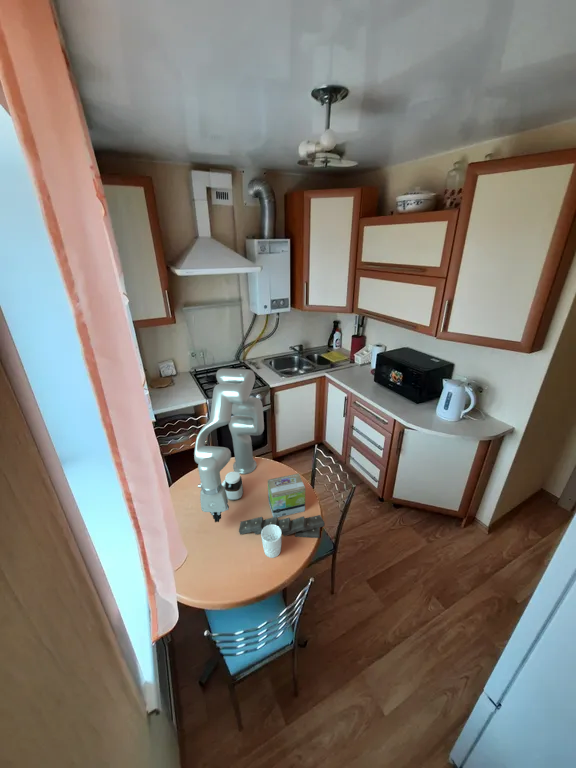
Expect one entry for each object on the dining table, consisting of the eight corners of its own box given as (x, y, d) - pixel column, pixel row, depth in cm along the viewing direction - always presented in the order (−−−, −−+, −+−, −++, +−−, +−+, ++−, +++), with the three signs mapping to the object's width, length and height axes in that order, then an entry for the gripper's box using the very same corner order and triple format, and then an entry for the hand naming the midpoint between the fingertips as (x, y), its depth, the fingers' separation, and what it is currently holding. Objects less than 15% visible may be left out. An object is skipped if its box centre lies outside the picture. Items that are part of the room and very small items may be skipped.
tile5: (295, 524, 134) (319, 525, 133) (295, 527, 135) (319, 528, 134) (295, 534, 129) (319, 535, 129) (295, 537, 130) (319, 538, 129)
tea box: (273, 519, 138) (271, 495, 131) (268, 502, 147) (266, 478, 140) (305, 511, 141) (305, 487, 135) (299, 495, 150) (298, 471, 144)
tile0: (240, 521, 135) (261, 516, 134) (242, 524, 136) (263, 519, 134) (238, 531, 131) (260, 526, 129) (240, 534, 132) (262, 529, 130)
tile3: (282, 523, 134) (303, 515, 132) (284, 526, 135) (305, 518, 133) (281, 533, 130) (303, 525, 127) (284, 536, 130) (305, 528, 128)
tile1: (255, 521, 135) (276, 516, 133) (257, 524, 136) (278, 519, 134) (253, 531, 130) (275, 526, 128) (255, 534, 131) (277, 529, 129)
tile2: (267, 522, 134) (288, 516, 132) (269, 525, 135) (290, 520, 133) (266, 532, 130) (288, 527, 128) (268, 535, 131) (290, 530, 129)
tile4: (298, 519, 134) (320, 514, 137) (298, 523, 135) (320, 518, 137) (302, 527, 129) (324, 522, 132) (302, 531, 130) (324, 526, 133)
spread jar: (241, 502, 147) (239, 484, 142) (217, 502, 147) (214, 484, 142) (245, 484, 158) (243, 466, 153) (222, 484, 158) (220, 466, 153)
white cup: (271, 537, 130) (270, 521, 125) (286, 548, 125) (285, 531, 121) (258, 551, 124) (256, 534, 120) (273, 563, 120) (272, 546, 115)
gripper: (190, 494, 119) (197, 527, 127) (229, 493, 119) (234, 526, 127) (195, 480, 126) (202, 512, 134) (232, 479, 126) (236, 511, 134)
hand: (217, 519), depth 131 cm, fingers closed
